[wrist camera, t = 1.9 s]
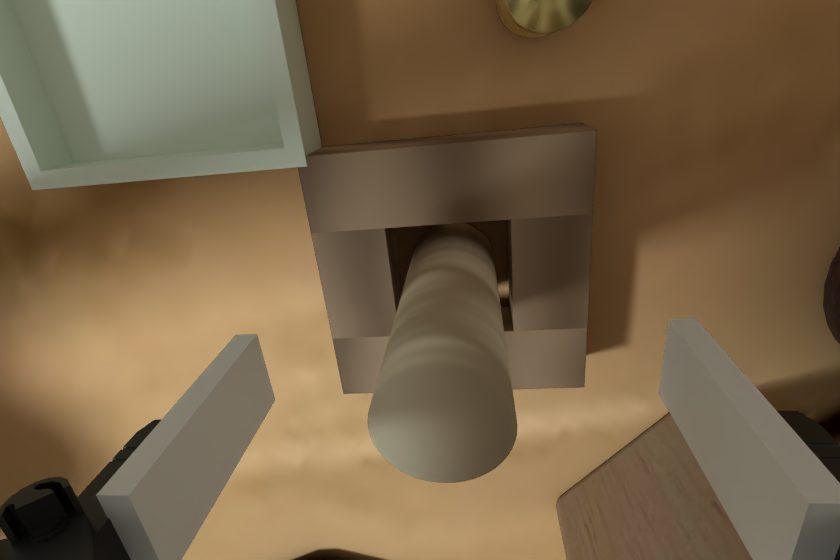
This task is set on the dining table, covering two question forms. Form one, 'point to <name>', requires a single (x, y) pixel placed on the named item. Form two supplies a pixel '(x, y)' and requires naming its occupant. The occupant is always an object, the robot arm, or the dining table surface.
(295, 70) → the tray
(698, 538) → the wooden block
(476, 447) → the dowel
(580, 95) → the dining table surface
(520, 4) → the cylinder
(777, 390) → the dining table surface
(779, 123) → the dining table surface
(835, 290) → the black ball on stand
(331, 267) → the socket block
